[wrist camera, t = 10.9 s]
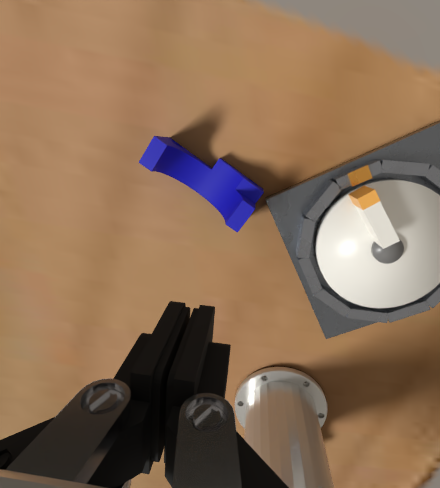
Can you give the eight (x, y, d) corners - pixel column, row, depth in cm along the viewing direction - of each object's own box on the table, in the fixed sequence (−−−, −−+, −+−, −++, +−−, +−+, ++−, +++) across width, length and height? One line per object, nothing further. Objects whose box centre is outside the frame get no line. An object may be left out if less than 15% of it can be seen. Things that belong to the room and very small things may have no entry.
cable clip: (263, 188, 37) (264, 196, 31) (240, 219, 38) (237, 232, 33) (177, 126, 36) (162, 122, 30) (156, 159, 37) (138, 162, 32)
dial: (469, 265, 35) (501, 283, 30) (348, 319, 38) (361, 343, 34) (416, 151, 32) (443, 152, 28) (291, 220, 36) (297, 231, 31)
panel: (483, 279, 37) (505, 292, 34) (323, 332, 41) (329, 348, 38) (437, 121, 33) (458, 118, 29) (265, 197, 37) (266, 203, 34)
